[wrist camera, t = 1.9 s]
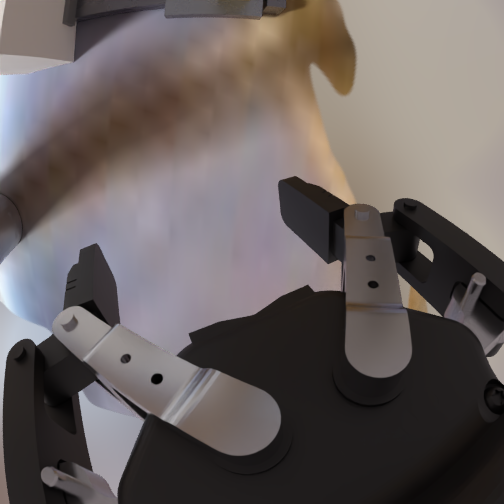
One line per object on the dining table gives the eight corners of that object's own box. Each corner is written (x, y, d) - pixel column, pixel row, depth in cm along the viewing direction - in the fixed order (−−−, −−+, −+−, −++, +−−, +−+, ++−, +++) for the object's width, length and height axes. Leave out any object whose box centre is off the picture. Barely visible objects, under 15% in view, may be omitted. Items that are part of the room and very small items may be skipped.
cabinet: (27, 74, 24) (-55, 80, 11) (39, -23, 17) (-26, -54, 3) (78, 61, 26) (4, 51, 12) (90, -38, 18) (38, -89, 5)
